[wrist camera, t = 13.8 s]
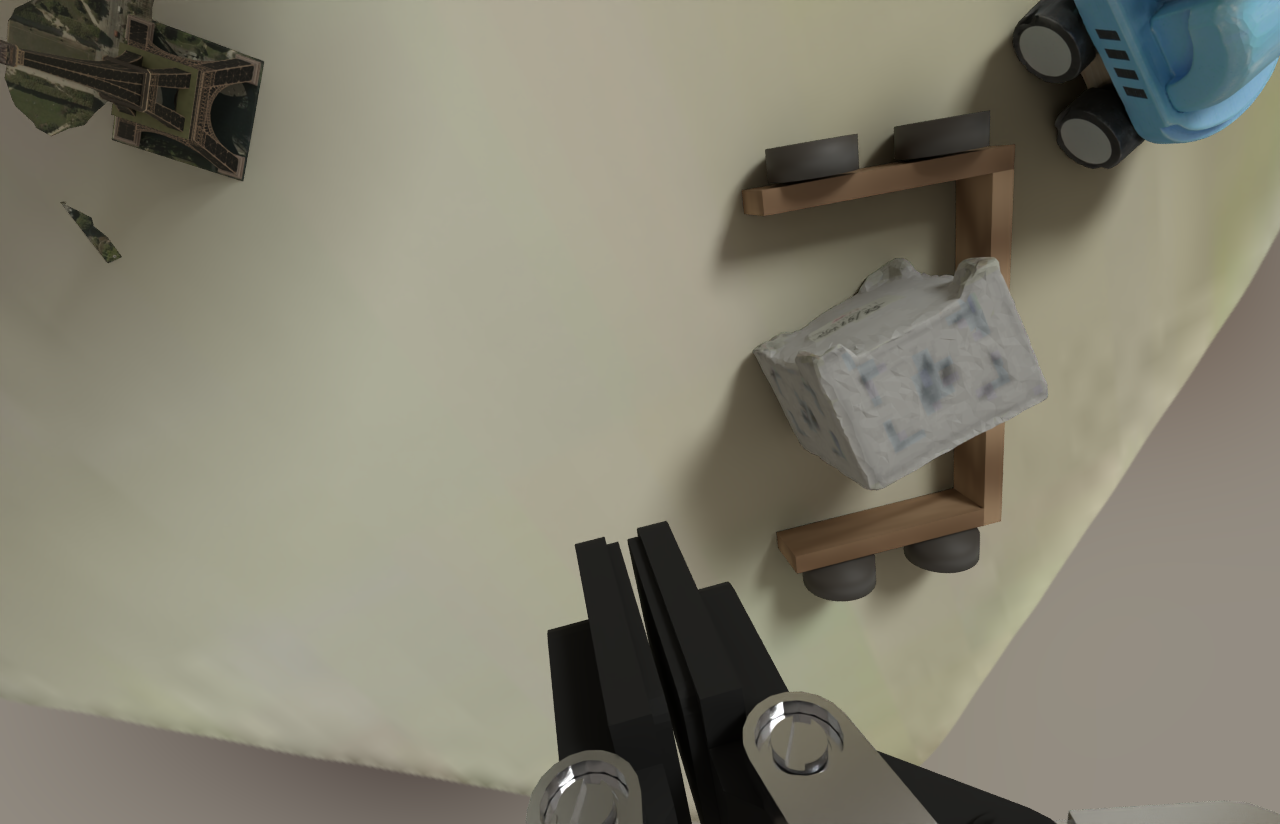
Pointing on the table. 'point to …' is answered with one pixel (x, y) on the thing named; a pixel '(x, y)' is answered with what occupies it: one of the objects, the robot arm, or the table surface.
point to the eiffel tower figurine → (131, 84)
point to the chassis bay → (984, 206)
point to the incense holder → (905, 370)
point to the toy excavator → (1149, 68)
